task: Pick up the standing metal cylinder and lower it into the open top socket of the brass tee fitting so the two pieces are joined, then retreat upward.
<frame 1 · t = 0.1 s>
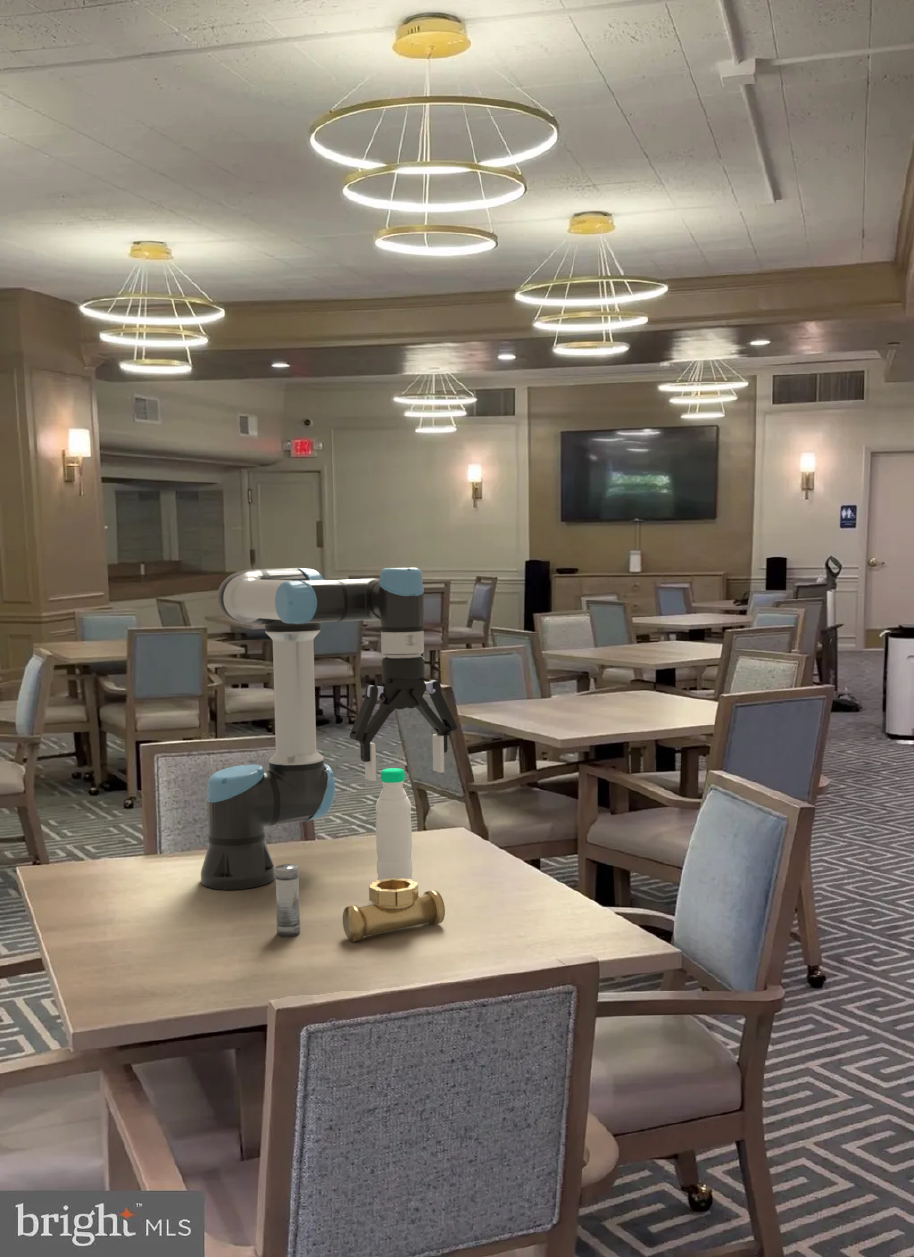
hand: (405, 775, 200), 28 cm above the table, fingers open, 13 cm apart
tee fitting: (394, 931, 202), on the table
water bottle: (395, 895, 225), on the table
metal cylinder: (288, 933, 202), on the table
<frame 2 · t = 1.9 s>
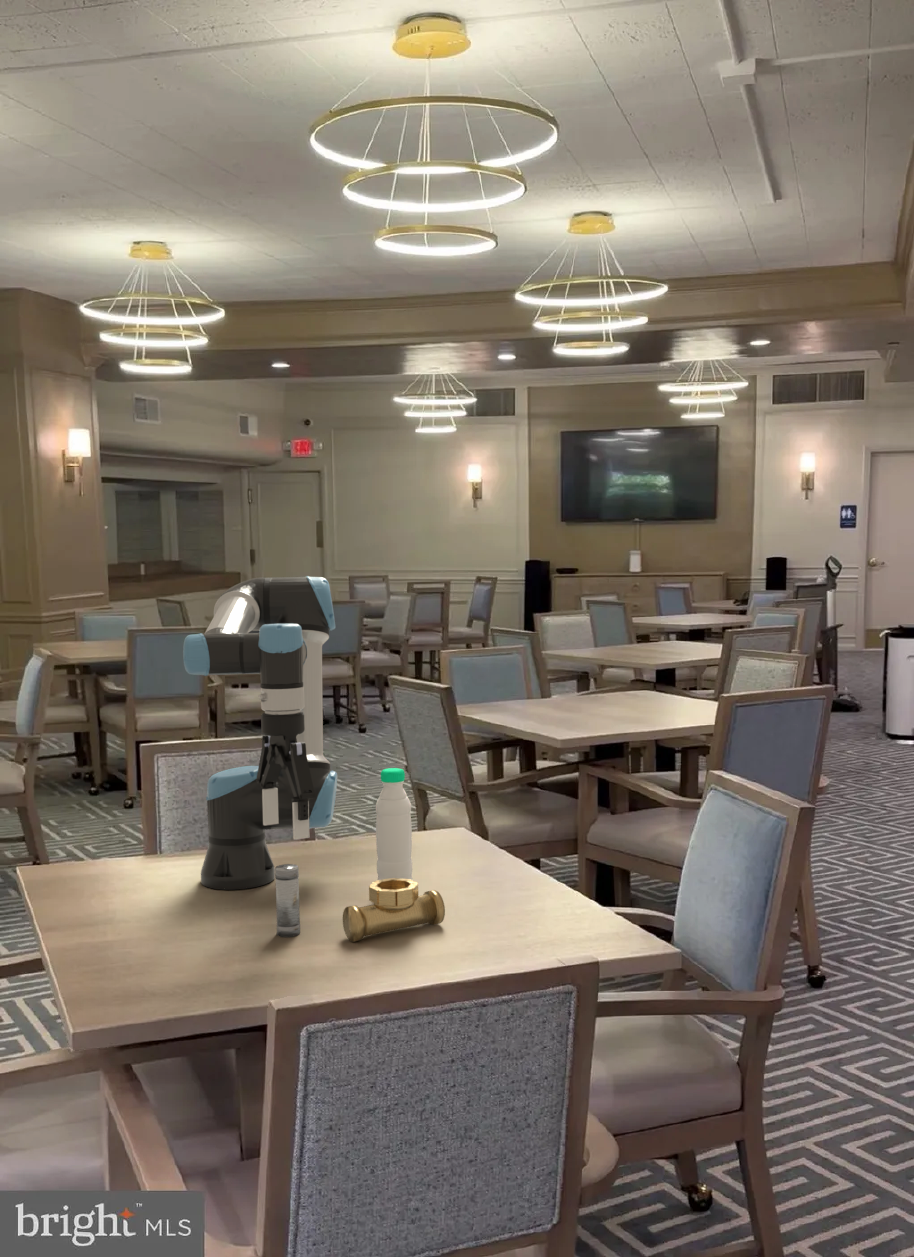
hand: (285, 831, 201), 18 cm above the table, fingers open, 13 cm apart
nothing on the table moved.
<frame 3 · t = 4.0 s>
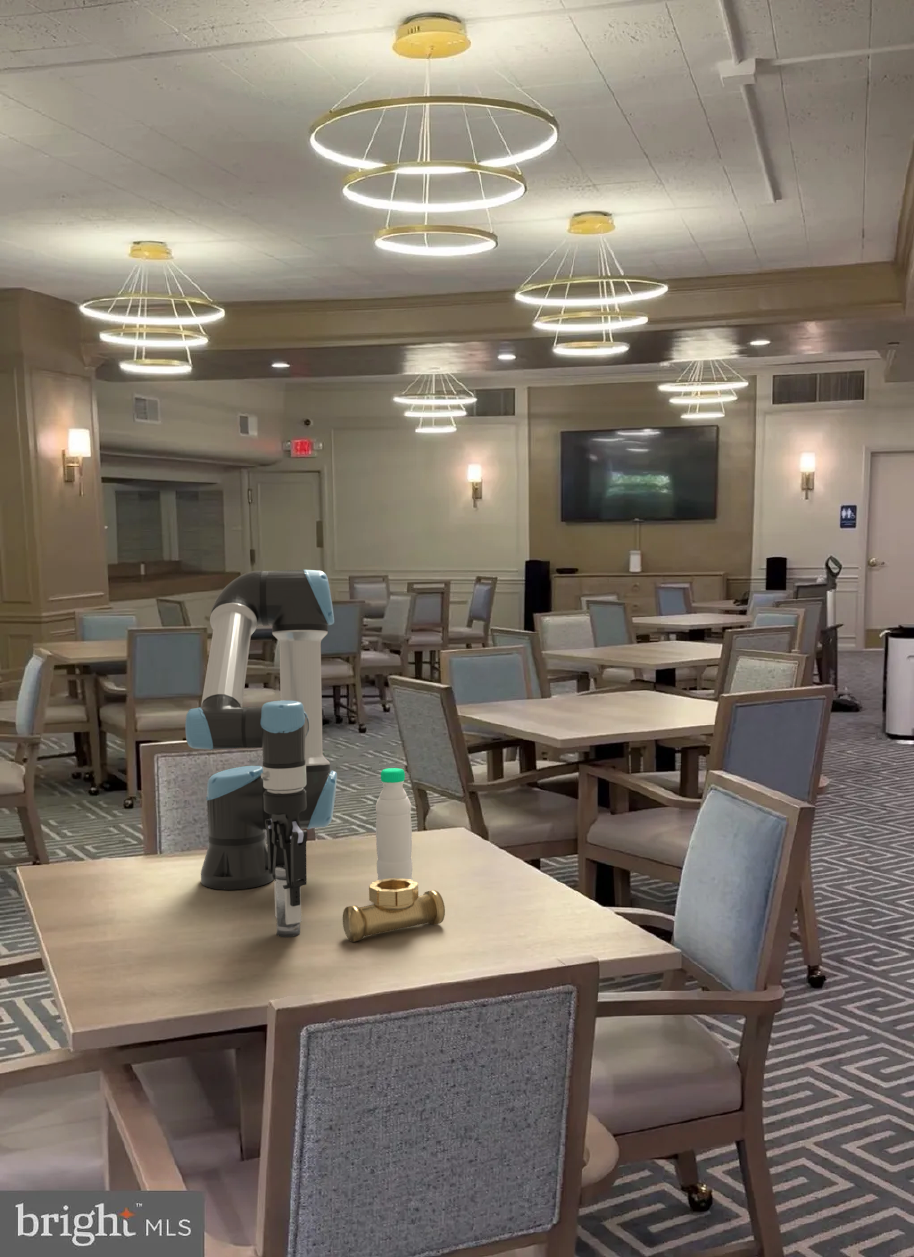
hand: (288, 919, 202), 3 cm above the table, fingers closed on metal cylinder, 4 cm apart
metal cylinder: (288, 933, 202), on the table, touching gripper
everything else where it was.
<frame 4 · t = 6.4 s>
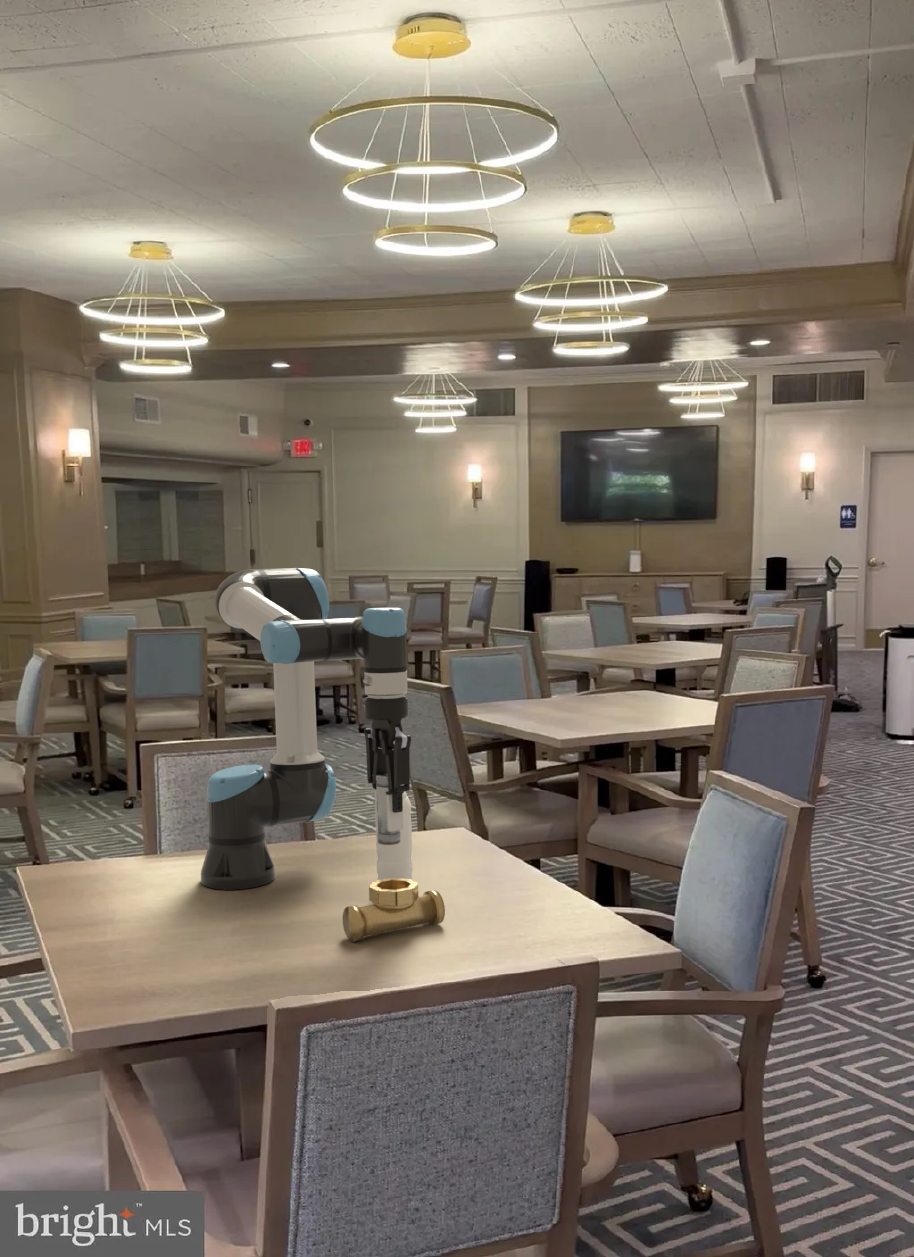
hand: (389, 827, 200), 19 cm above the table, fingers closed on metal cylinder, 4 cm apart
metal cylinder: (389, 842, 201), point 16 cm above the table, touching gripper
everything else where it was.
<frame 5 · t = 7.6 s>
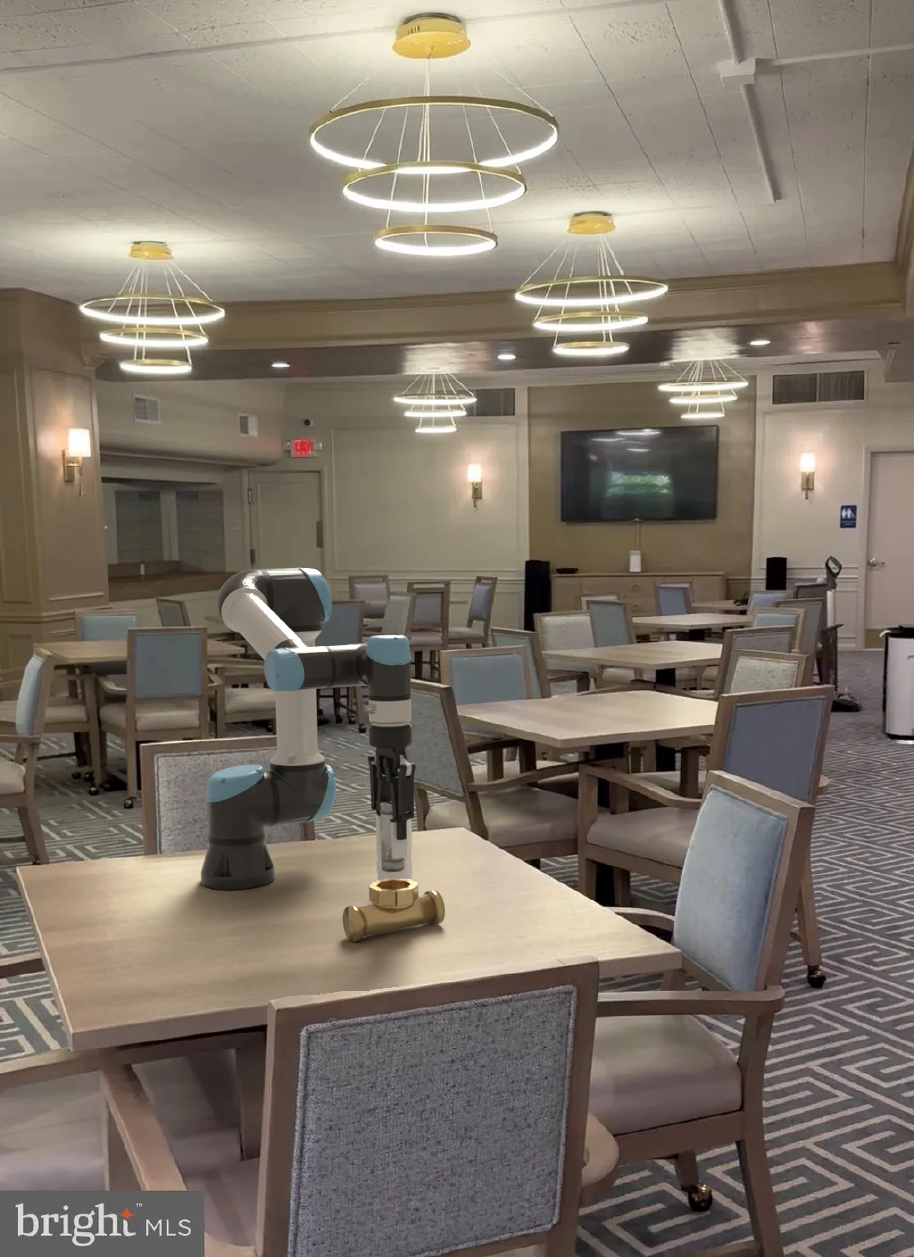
hand: (393, 854, 201), 14 cm above the table, fingers closed on metal cylinder, 4 cm apart
metal cylinder: (393, 869, 201), point 11 cm above the table, touching gripper
everything else where it was.
when the fingers open (10 cm above the table, at t = 8.7 s): metal cylinder drops 1 cm, resting on tee fitting.
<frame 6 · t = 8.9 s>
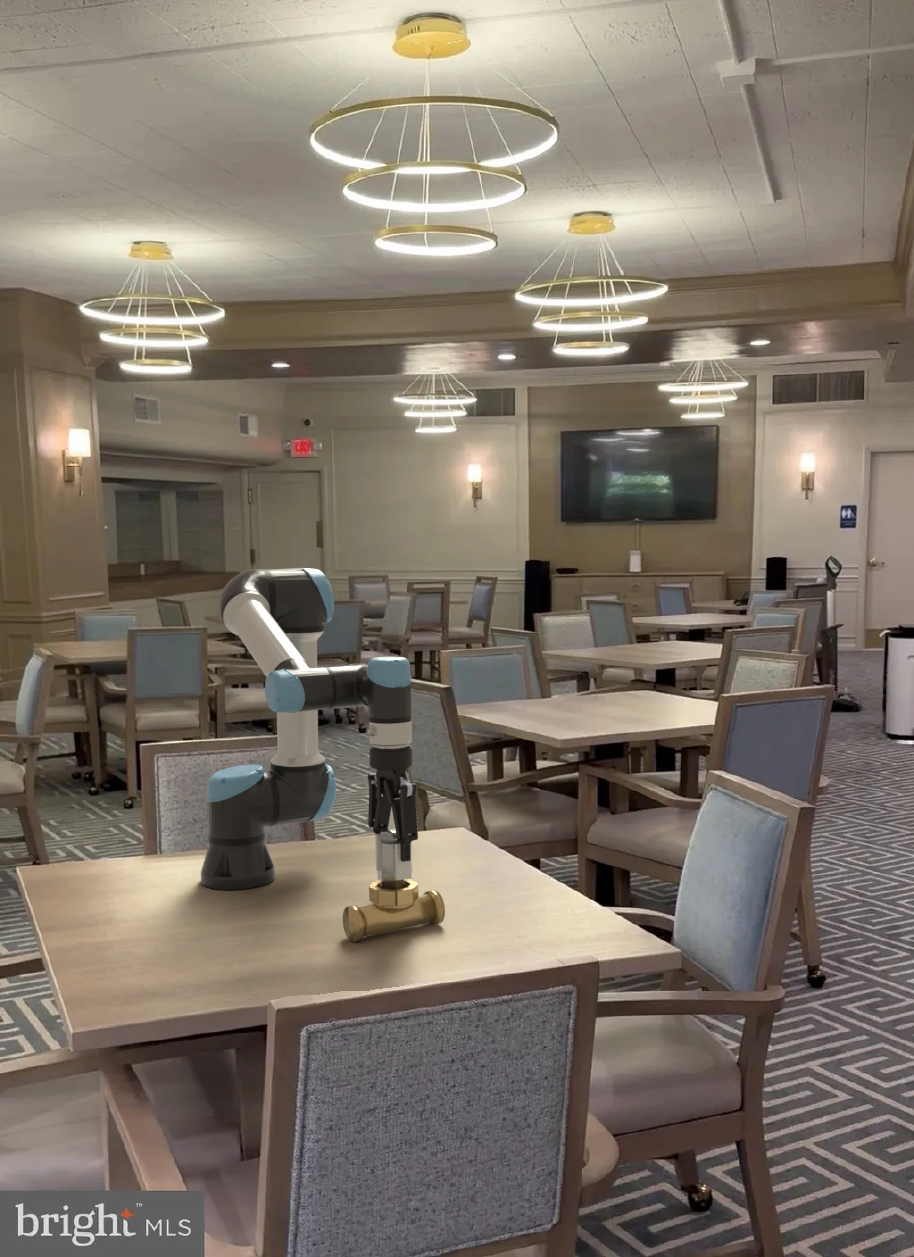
hand: (393, 873, 201), 10 cm above the table, fingers open, 7 cm apart
metal cylinder: (393, 898, 201), point 6 cm above the table, touching tee fitting
everything else where it was.
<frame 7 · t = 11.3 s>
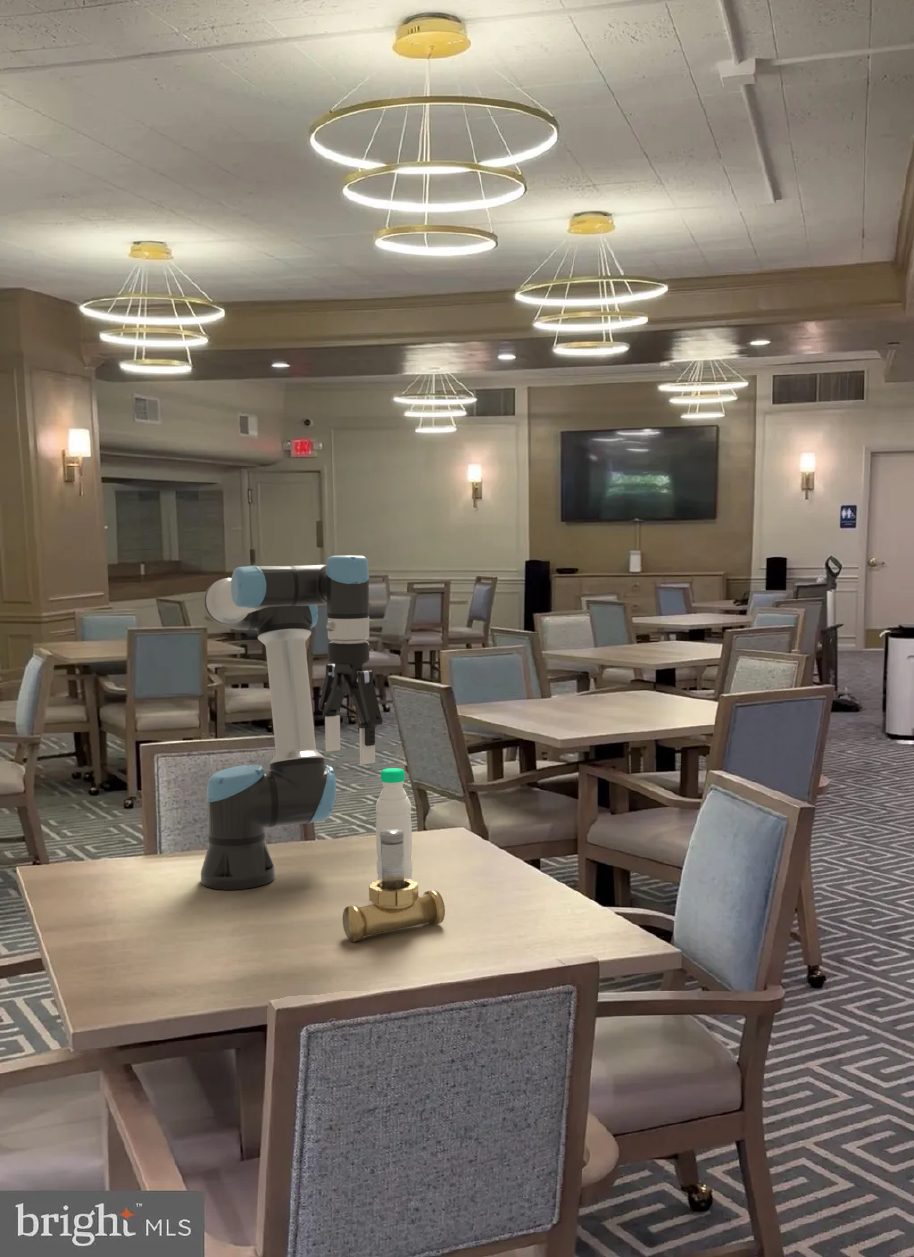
hand: (349, 756, 207), 30 cm above the table, fingers open, 13 cm apart
nothing on the table moved.
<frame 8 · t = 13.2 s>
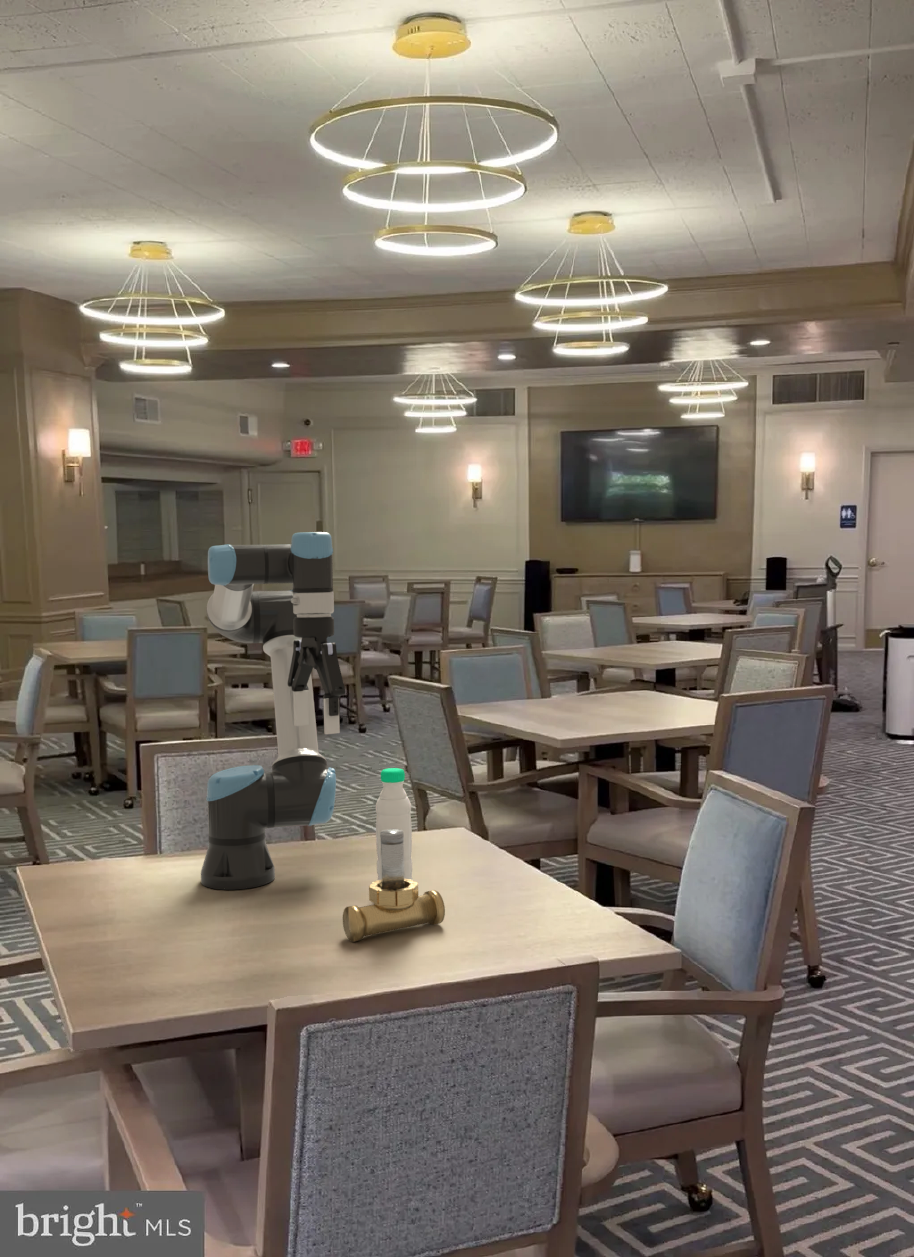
hand: (316, 729, 212), 35 cm above the table, fingers open, 13 cm apart
nothing on the table moved.
at the end: metal cylinder 0.1 cm off-centre on the tee fitting, point 6.0 cm above the tee fitting's base; metal cylinder tilted 0°; the gripper is holding nothing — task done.
